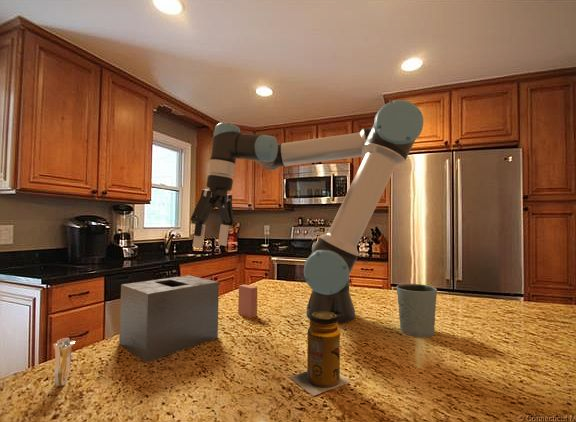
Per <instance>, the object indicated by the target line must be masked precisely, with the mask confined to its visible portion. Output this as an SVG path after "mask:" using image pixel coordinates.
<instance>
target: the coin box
mask: <svg viewBox="0 0 576 422" xmlns="http://www.w3.org/2000/svg"><path fill="white" fill-rule="evenodd" d="M219 285H220V282H219V281H215V280H212V279H208V278H203V277H197V276H193V275H188V274H187V275H183V276H174V277H168V278H161V279H151V280H146V281H145V280H144V281H139V282H137V281H136V282H131V283H122V284H120V304H119V305H120V307H119V311H120V312H119V313H120V314H119V336H118V337H119V338H118V339H119V340H118V344H119V345H120V346H121V347H123V348H124V349H126V350H128V352H130V353H131V354H133V355H134V356H136V357H138V358H139V359H140V360H142V361H144V362H145V363H147V362H151V361H153V360H156V359H159V358H162V357H167V356H169V355H172V354H174V353H178V352H180V351H183V349H184V350H186V349H189V348H192V347H196V346H199V345H200V344H201V345H202V344H204V343H207V342H211V341H213V340H216V339H219V301H220V298H219V295H220V294H219V293H220V292H219V291H220V289H219V288H220V286H219Z"/></svg>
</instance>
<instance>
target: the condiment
mask: <svg viewBox="0 0 576 422" xmlns="http://www.w3.org/2000/svg"><path fill="white" fill-rule="evenodd" d="M340 344H341V331H340V330H339V323H338V316H337V315H336V314H334V313H332V312H324V311H319V312H314V313H312V314H311V316H310V318H309V327H308V328H307V350H306V351H307V358H306V359H307V360H306V361H307V366H306V368H307V369H306V371H303V372H300V373H298V374H293V375H291V376H289V379H291V380H292V381H293V382H294V383H296V384H297V385H298V386H300V387H301V389H303V390H305V391H306V392H307V393H309V394H310V395H311V396H313V397H315V396H317V395H320V394H321V393H325V392H327V391H331V390H334V389H336V388H339V387H342V386H344V385H347V384H349V383H350V381H349V380H348V379H346V378H344V377H342V376H340V374H341V373H340V372H341V370H340V369H341V368H340V367H341V366H340V365H341V359H340V356H341V352H340V351H341V347H340V346H341V345H340Z"/></svg>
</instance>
